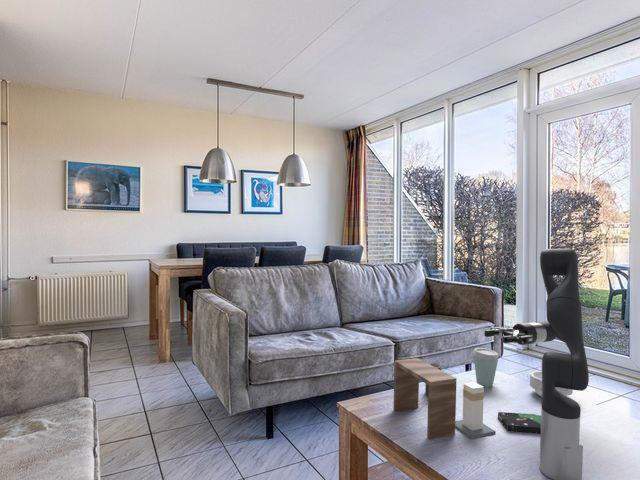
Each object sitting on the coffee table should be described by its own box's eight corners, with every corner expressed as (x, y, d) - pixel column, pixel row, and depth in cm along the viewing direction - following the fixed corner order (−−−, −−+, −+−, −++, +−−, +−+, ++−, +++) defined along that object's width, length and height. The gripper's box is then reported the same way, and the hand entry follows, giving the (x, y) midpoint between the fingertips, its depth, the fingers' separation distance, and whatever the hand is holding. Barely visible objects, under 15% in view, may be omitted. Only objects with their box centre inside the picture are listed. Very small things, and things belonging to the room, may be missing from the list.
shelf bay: (455, 434, 133) (456, 378, 132) (429, 439, 129) (430, 382, 129) (416, 406, 153) (417, 358, 153) (393, 410, 150) (394, 360, 149)
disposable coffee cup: (493, 380, 181) (494, 347, 180) (501, 390, 170) (502, 354, 170) (469, 379, 182) (470, 346, 182) (475, 388, 171) (476, 353, 171)
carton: (482, 428, 135) (484, 386, 135) (471, 430, 133) (472, 388, 133) (473, 422, 139) (474, 381, 139) (462, 424, 138) (463, 383, 137)
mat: (495, 433, 133) (495, 431, 133) (471, 438, 130) (471, 436, 130) (473, 419, 143) (474, 417, 143) (450, 424, 139) (450, 422, 139)
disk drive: (507, 433, 135) (554, 436, 133) (507, 425, 135) (554, 427, 133) (497, 419, 145) (540, 421, 144) (497, 411, 145) (540, 413, 143)
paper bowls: (564, 390, 171) (565, 372, 170) (578, 406, 156) (578, 385, 156) (525, 386, 174) (525, 368, 174) (534, 401, 160) (535, 381, 159)
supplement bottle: (421, 392, 167) (422, 363, 166) (436, 390, 169) (437, 362, 168) (431, 399, 160) (432, 369, 160) (446, 397, 162) (446, 367, 162)
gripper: (513, 318, 153) (479, 321, 148) (546, 327, 140) (510, 330, 134) (513, 338, 153) (479, 342, 148) (546, 349, 140) (509, 353, 134)
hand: (494, 336), depth 141 cm, fingers open, 8 cm apart
